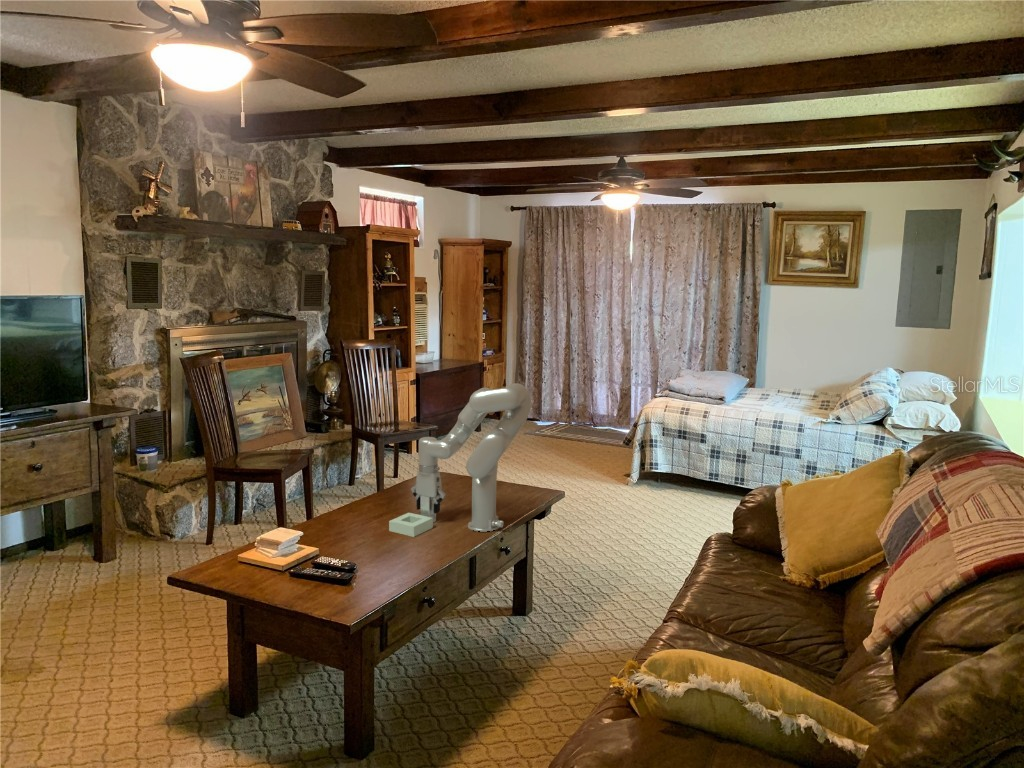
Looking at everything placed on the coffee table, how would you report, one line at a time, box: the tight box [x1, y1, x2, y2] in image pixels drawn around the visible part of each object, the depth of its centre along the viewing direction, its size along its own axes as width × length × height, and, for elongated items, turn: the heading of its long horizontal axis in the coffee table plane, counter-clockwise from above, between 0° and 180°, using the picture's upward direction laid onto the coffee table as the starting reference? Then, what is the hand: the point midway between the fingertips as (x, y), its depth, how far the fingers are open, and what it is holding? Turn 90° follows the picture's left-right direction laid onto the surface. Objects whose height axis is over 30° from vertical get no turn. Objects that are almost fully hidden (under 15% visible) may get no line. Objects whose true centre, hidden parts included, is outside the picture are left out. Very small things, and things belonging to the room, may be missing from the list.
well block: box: [388, 512, 434, 538], centre depth 279 cm, size 12×12×4 cm
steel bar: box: [420, 495, 437, 523], centre depth 288 cm, size 4×4×11 cm
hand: (428, 510), depth 288 cm, fingers open, 7 cm apart
